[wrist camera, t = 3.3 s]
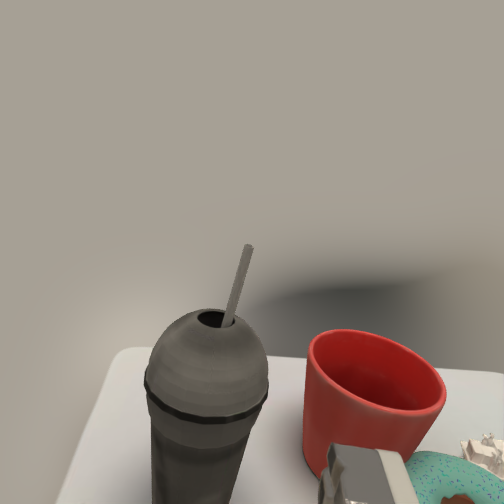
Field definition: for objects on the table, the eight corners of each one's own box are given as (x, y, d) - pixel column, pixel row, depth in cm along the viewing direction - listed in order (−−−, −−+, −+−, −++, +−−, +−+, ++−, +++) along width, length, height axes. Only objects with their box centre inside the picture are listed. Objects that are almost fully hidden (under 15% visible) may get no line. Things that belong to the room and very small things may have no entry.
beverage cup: (164, 461, 30) (191, 214, 24) (252, 494, 29) (305, 239, 23) (107, 552, 24) (125, 241, 17) (219, 601, 22) (281, 280, 16)
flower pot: (409, 439, 37) (440, 351, 34) (412, 545, 27) (456, 434, 24) (302, 399, 40) (322, 315, 37) (270, 481, 30) (293, 376, 27)
